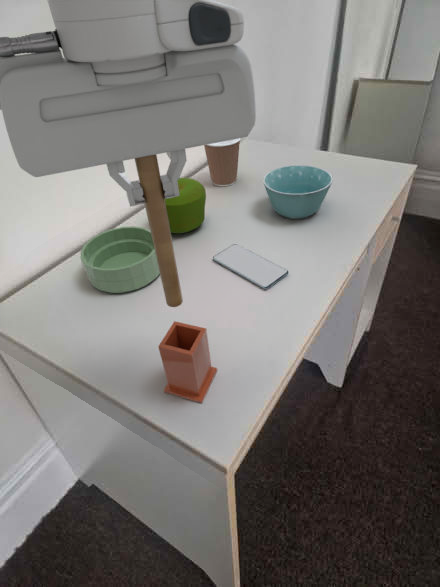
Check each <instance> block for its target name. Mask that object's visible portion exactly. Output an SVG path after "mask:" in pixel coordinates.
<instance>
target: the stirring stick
mask: <svg viewBox="0 0 440 587" xmlns="http://www.w3.org/2000/svg"><path fill="white" fill-rule="evenodd" d="M157 155H158V154H156V155H150V156H145V157H140V158H135V159H134V163H135V167H136V172H137V176H138V180H139V182H140V185H141V186H142V189H143V196H144V198H145V203H144V204H143V205H144V208H145V213H146V218H147V222H148V226H149V230H150V231H151V236H152V240H153V245H154V249H155V254H156V258H157V263H158V267H159V272H160V274H159V276H160V281H161V285H162V289H163V294H164V299H165V302H166V305H167V306H168V307H169V308H177V307H180V306H181V305H182V304H183V301H184V298H183V294H182V288H181V287H182V286H181V283H180V277H179V271H178V266H177V260H176V255H175V249H174V243H173V238H172V232H170V226H169V221H168V215H167V210H166V204H165V199H164V194H163V188H162V183H161V177H160V176H161V172H160V166H159V161H158V156H157Z"/></svg>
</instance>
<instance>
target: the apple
mask: <svg viewBox="0 0 440 587" xmlns="http://www.w3.org/2000/svg"><path fill="white" fill-rule="evenodd" d="M177 181H178V188H179V196H177V197H172V198H167V199H165V204H166V210H167V215H168V221H169V226H170V232H171V234H185V233H189V232H191V231H193V230H195V229H197V228H199V227H200V226H201V225H202V224H203V223H204V221H205V218H206V200H207V194H206V188H205V186H204V184H203V183H201V182H200V181H198V180H196V179H194V178H190V177H179V180H177Z"/></svg>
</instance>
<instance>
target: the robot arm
mask: <svg viewBox="0 0 440 587" xmlns="http://www.w3.org/2000/svg"><path fill="white" fill-rule="evenodd" d="M47 4H48V8H49V11H50V14H51V17H52V21H53V25H54V27H55V29H54V30H50V31H44V32H34V33H29V34H26V35H25V34H24V35H21V36H17V37H9V36H0V110H1V113H2V118H3V122H4V126H5V129H6V133H7V136H8V139H9V142H10V145H11V148H12V151H13V154H14V158H15V159H16V162H17V164H18V167H19V168H20V169H21V170H22V171H24V172H25V173H27V174H29V175H30V176H32V177H34V178H40V177H41V178H42V177H47V176H51V175H56V174H61V173H62V174H63V173H67V172H71V171H72V172H73V171H78V170H82V169H88V168H92V167H93V168H94V167H97V166H103V165H106V168H107V171H108V174H109V176H110V178H111V179H112V180H113V181H115V183H116V184H117V185H119V186H120V187H121V189H123V191H125V193H126V197H127V201H128V204H129V206H130V208H131V207H135V206H139V205H145V204H144V203H145V198H144V196H143V189H142V186H141V185H140V182H139V179H137V180H133V181H131V180H130V179H129V178H128V177H127V176H126V175H125V172H126V169H125V164H124V161H129V160H135V158H140V157H145V156H150V155H160V154H165V153H166V155H167V157H168V159H169V160H170V162H169V165H168V167H167V170H166V173H165V174H161V175H160V177H161V183H162V188H163V194H164V199H167V198H172V197H177V196H179V188H178V181H177V180H179V178H181V175H182V173H183V171H184V168H185V165H186V163H187V154H186V153H187V152H186V150H187V149H191V148H196V147H202V146H204V145H208V144H213V143H218V142H223V141H228V140H234V139H239V138H241V139H244V138H246V137H248V136H249V135H250V134H251V132H252V130H253V128H254V126H256V125H255V124H256V118H257V116H256V112H257V111H256V110H257V109H256V93H255V92H256V91H255V82H254V76H253V69H252V64H251V61H250V58H249V57H248V54H247V53H246V51H245V50H244V49H243V48H242V47H240V46H239V45H237V44H238V43H239V42H241V40H242V39H243V36H244V29H245V23H244V15H243V13H242V11H241V9H239V8H237V7H236V6H234V5H229V4H226V3H225V2H224V3H223V2H220V1H217V0H47Z"/></svg>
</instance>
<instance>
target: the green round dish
mask: <svg viewBox="0 0 440 587" xmlns="http://www.w3.org/2000/svg"><path fill="white" fill-rule="evenodd" d="M79 258H80V261H81V264H82V266H83V268H84V271H85V273H86V276H87V279H88V281H89V283H90V284H91V286H92V287H94V288H95V289H97V290H99V291H101V292H106V293H112V294H113V293H117V294H118V293H127V292H130V291H135V290H138V289H140V288H143V287H145V286H148V285H149V284H150V283H151V282H153V281H154V280H155V279H157V278H158V276H160V272H159V267H158V263H157V258H156V254H155V249H154V245H153V240H152V236H151V231H150V229H149V228H145V227H141V226H134V225H132V226H119V227H115V228H111V229H108V230H105V231H102V232H100V233H98V234H97V235H95V236H93V237H92V238H90V239H89V240H88V241H87V242H86V243H85V244H84V245H83V246H82V248H81V249H80V257H79Z"/></svg>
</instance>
